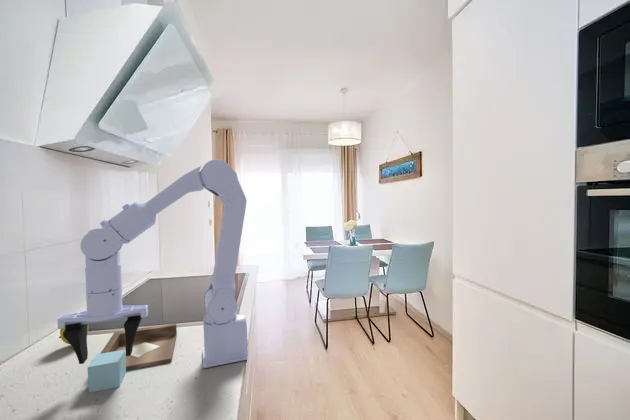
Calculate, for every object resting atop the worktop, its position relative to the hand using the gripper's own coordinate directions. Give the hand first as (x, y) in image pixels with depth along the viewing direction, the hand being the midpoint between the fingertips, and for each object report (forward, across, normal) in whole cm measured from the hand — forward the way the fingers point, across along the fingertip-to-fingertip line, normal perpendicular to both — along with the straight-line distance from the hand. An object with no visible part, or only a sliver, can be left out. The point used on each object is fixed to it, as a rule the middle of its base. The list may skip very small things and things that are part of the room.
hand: (106, 357), depth 59 cm
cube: (+5, 0, 0) cm, 5 cm away
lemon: (+5, +12, -22) cm, 25 cm away
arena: (+5, -4, -10) cm, 12 cm away
